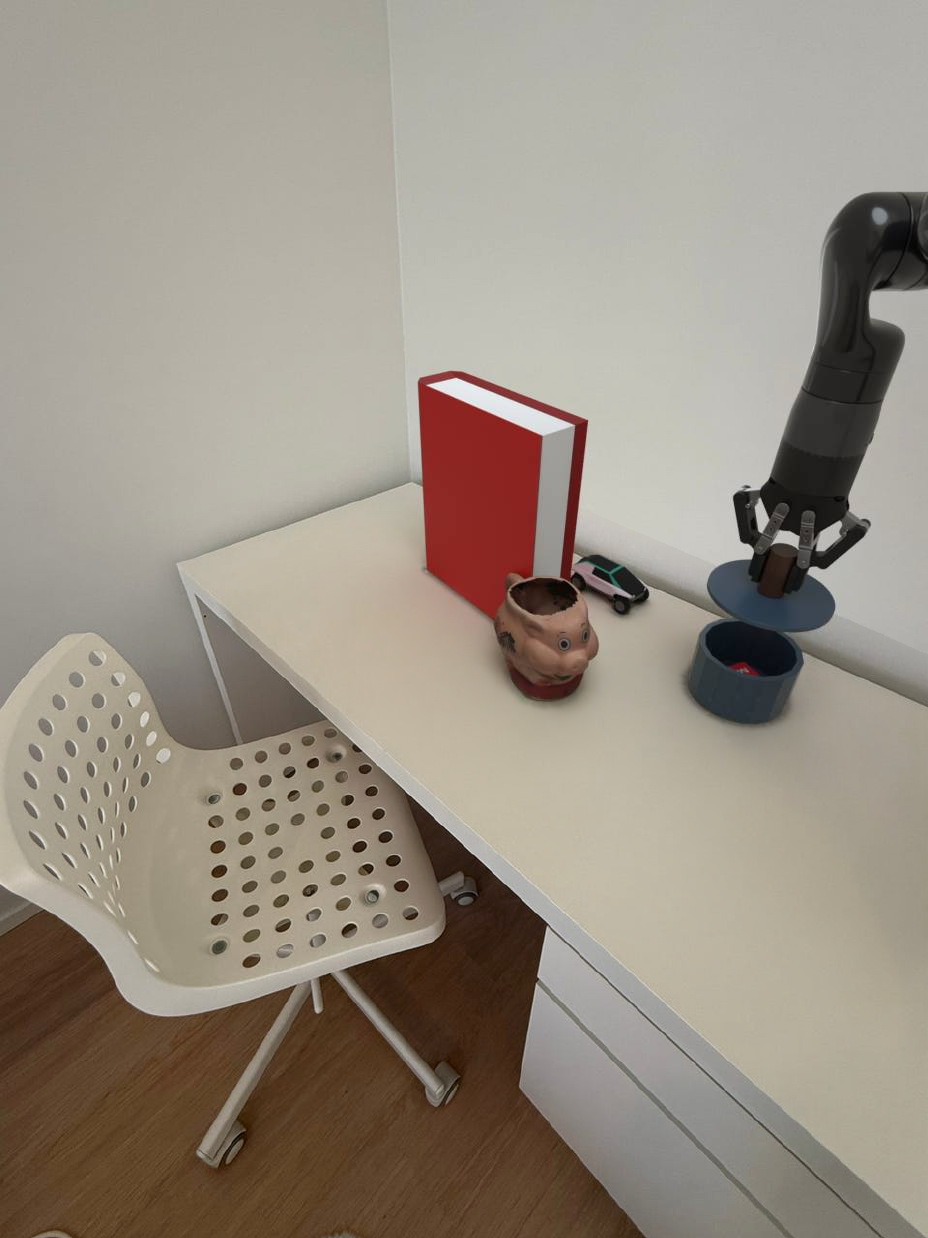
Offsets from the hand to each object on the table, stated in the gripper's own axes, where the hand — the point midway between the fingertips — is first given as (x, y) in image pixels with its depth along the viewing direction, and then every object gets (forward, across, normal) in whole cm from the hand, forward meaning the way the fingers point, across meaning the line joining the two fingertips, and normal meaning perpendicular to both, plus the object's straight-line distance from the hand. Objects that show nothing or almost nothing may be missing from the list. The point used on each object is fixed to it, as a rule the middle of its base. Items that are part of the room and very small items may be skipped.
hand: (773, 584), depth 73 cm
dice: (+19, 0, +4) cm, 20 cm away
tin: (+20, 0, +4) cm, 20 cm away
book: (+20, -40, +2) cm, 45 cm away
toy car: (+20, -25, +13) cm, 35 cm away
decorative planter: (+20, -24, -10) cm, 33 cm away
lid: (+2, 0, 0) cm, 2 cm away
